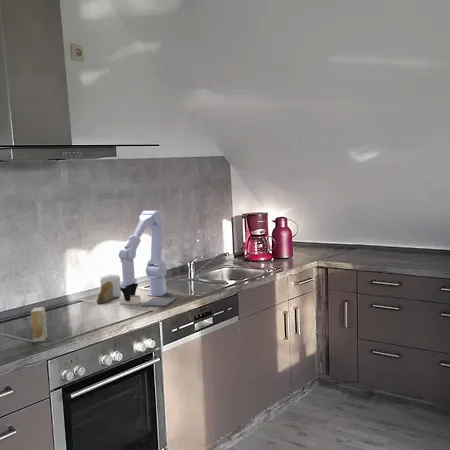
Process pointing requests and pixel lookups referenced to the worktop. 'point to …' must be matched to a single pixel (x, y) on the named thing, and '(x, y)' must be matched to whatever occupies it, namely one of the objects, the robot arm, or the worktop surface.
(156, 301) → the mat
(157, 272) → the robot arm
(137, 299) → the card deck
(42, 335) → the skincare box
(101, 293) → the rock
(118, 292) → the photo printer
